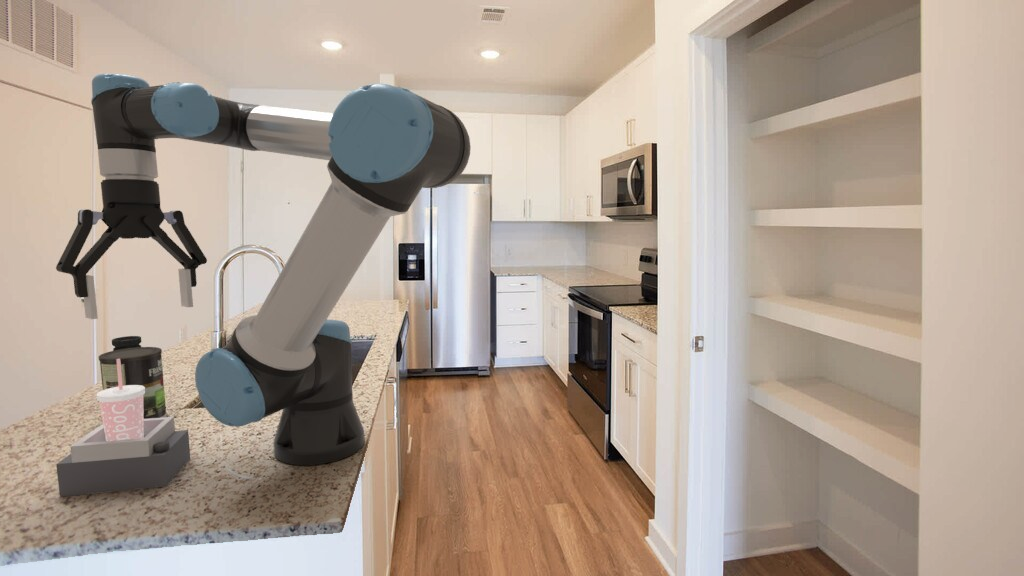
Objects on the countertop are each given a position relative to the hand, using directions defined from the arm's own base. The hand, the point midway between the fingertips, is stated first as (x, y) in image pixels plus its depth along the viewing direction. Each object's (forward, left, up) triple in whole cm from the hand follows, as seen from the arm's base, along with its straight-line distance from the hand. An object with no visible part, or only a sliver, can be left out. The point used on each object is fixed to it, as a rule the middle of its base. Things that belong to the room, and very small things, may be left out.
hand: (142, 312), depth 88 cm
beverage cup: (+2, +6, -21) cm, 21 cm away
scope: (+18, -36, -26) cm, 48 cm away
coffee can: (+11, -21, -26) cm, 35 cm away
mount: (+1, +6, -25) cm, 26 cm away
